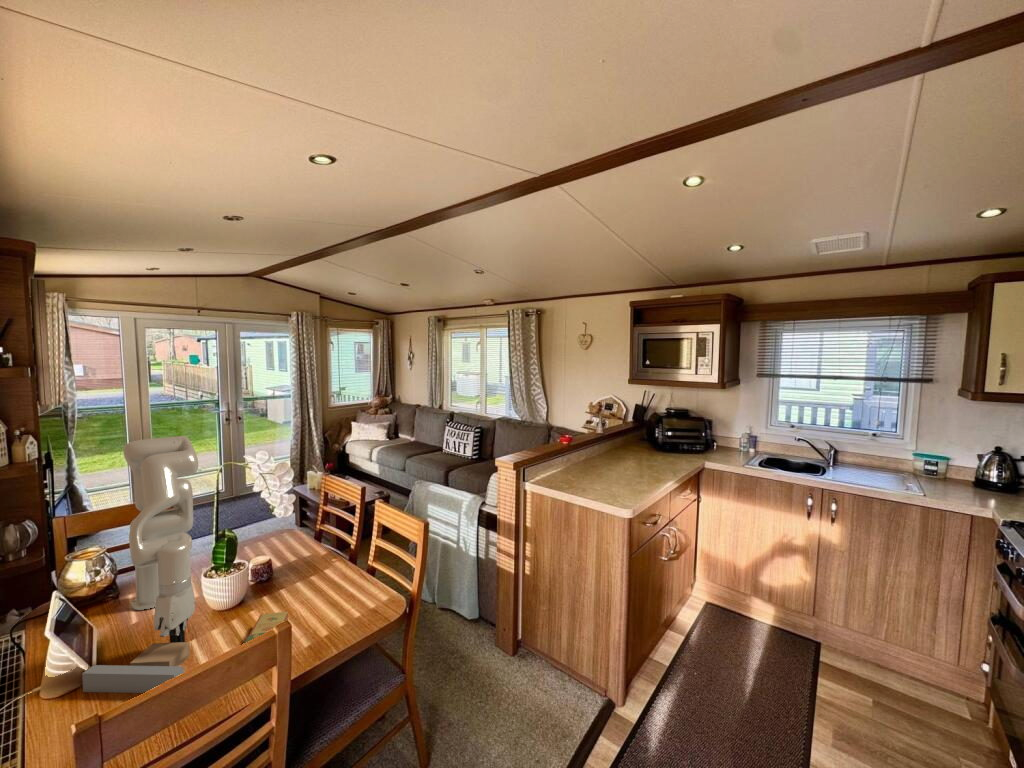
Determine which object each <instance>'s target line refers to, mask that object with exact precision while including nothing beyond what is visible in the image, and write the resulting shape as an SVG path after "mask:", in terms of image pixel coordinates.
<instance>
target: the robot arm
mask: <svg viewBox="0 0 1024 768" xmlns="http://www.w3.org/2000/svg"><path fill="white" fill-rule="evenodd" d="M123 456H124V457H123V458H124V459H125V461H126V463H127V465H128V466H129V468H130V469H131V471H132V474H133V475H132V476H133V491H134V492H133V495H134V504H135V508H136V509H137V510H138V511H139V514H138V515H136V517H134V519H132V521H131V522H130V524H129V534H128V541H129V542H128V543H129V553H130V559H131V564H133V566H134V568H135V569H134V574H135V591H136V592H135V593H136V594H135V595H136V597H135V598H134V599H133V600H132V601H131V602H130V608H131V609H132V610H134V611H135V610H136V611H144V609H147V610H151V609H150V608H152V609H154V615H153V618H154V619H153V627H154V630H155V631H159V630H160V632H159V638H165V637H167V636H168V637H169V643H176V642H186V635H185V634H186V633H185V630H186V629H187V625H188V624H187V623H188V621H189V619H190V618H191V617H192V616H193V613H195V610H196V609H195V608H196V600H195V599H196V598H195V590H194V588H193V584H192V563H191V550H192V548H193V539H192V536H191V535H190V534H188V533H187V532H189V531H190V530H191V529H192V528H193V525H194V497H193V496H194V495H193V493H194V491H193V487H192V484H191V481H190V480H188V479H187V478H183V477H188V476H193V475H195V474H196V473H197V472H198V469H199V460H198V454H197V453H196V449H195V448H194V446H193V443H192V442H191V440H190V438H188V437H187V436H185V435H179V436H167V437H156V438H146V439H145V438H144V439H139V440H133V441H131V442H128V443H126V444H125V445H124V446H123ZM181 477H182V478H181ZM172 507H174V508H172ZM154 607H155V608H154Z"/></svg>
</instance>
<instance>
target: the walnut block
mask: <svg viewBox="0 0 1024 768" xmlns="http://www.w3.org/2000/svg"><path fill="white" fill-rule="evenodd" d="M190 654H191V653H190V641H185V642H176V643H170V642H158V643H157V642H155V643H154V642H153V643H151V644H150V645H149V646H148V647H146V649H144V650H143V651H142V652H141V653H140V654H138V655H137V656H136V657H135V658H134V659H133V660H132V661H130V663H129V666H181V665H182V664H183V663H184V662H185V660H187V659H188V658H189V657H190Z"/></svg>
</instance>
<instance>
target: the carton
mask: <svg viewBox="0 0 1024 768" xmlns="http://www.w3.org/2000/svg"><path fill="white" fill-rule="evenodd" d="M287 620H288V621H289V612H288V611H279V612H271V613H262V614H260V615H259V617H258V619H257V620H256V622H255V624H254V626H253V628H252V629H251V631H250V634H249V635H248V637H247V638H246V640H245V641H244V643H246V642H248V641H250V640H252V639H254V638H256V637H258V636H260V635H262V634H264V633H266V632H267V631H269V630H271V629H273V628H274V627H275V626H276V625H277V624H279V623H281V622H283V621H287Z"/></svg>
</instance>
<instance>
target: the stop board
mask: <svg viewBox="0 0 1024 768" xmlns="http://www.w3.org/2000/svg"><path fill="white" fill-rule="evenodd" d="M184 669H185V667H184V666H181V665H180V666H130V665H116V664H115V665H111V664H110V665H108V664H98V665H97V664H93V665H92V666H91V667H89V668H87V669H86V670H85V671H84V672H82V674H81V675H82V677H81V678H82V692H83V693H115V694H116V693H117V694H118V693H121V694H122V693H124V694H127V693H128V694H132V693H133V694H139V693H140V694H145V693H144V692H146V691H148V690H150V689H152V688H154V687H156V686H158V685H160V684H162V683H164V682H165V681H167V680H169V679H172V678H174V677H176V676H178V675H180V674H182V673H184V672H185V671H184ZM184 674H185V673H184Z"/></svg>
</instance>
